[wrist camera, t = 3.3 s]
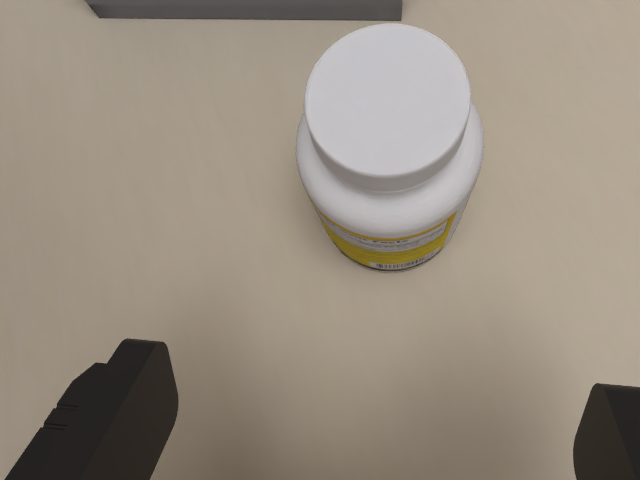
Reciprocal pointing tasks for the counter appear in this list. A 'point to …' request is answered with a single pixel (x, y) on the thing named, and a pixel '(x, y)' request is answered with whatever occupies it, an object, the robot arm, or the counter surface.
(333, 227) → the supplement bottle
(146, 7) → the tote
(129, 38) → the counter surface
